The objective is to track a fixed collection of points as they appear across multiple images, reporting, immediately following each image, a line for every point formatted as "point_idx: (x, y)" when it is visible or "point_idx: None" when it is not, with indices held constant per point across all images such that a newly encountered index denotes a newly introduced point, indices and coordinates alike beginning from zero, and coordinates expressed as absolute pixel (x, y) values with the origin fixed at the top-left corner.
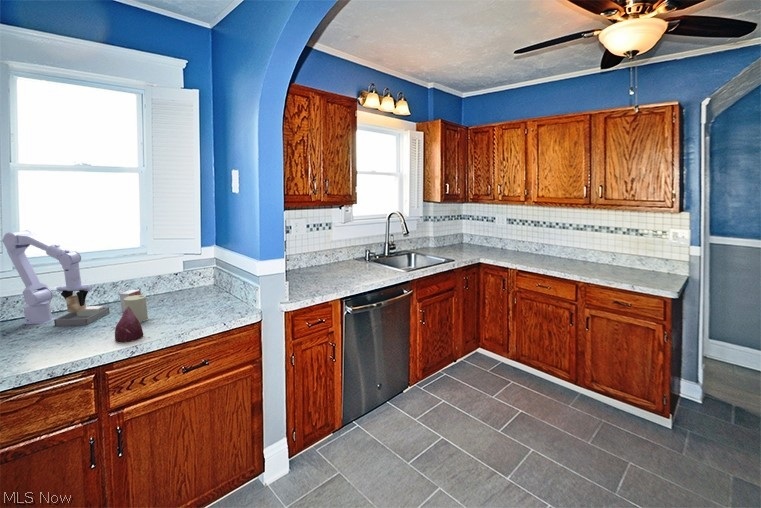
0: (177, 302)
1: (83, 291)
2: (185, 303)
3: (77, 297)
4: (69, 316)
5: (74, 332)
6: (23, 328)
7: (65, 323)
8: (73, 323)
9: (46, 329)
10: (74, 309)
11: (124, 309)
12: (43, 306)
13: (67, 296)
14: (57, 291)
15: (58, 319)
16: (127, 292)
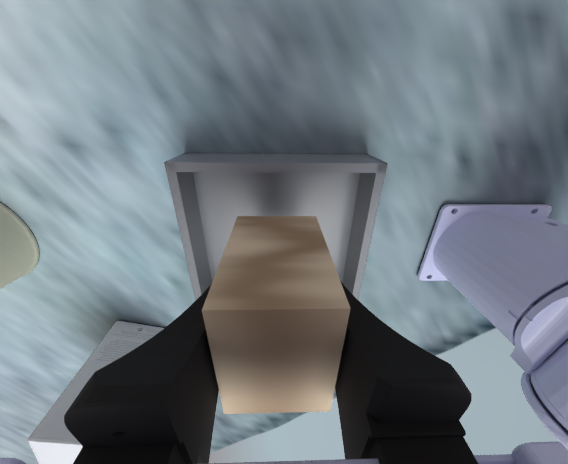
0: (48, 409)
1: (98, 447)
2: (3, 402)
3: (208, 328)
4: (350, 266)
5: (173, 22)
6: (538, 146)
7: (309, 158)
8: (260, 157)
9: (400, 114)
10: (261, 226)
11: (141, 340)
12: (537, 284)
13: (352, 348)
14: (552, 445)
15: (360, 170)
16: (70, 456)
